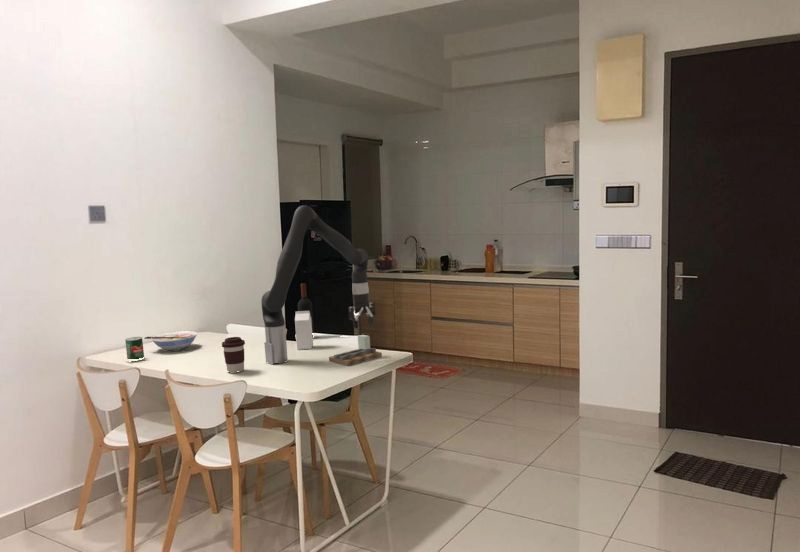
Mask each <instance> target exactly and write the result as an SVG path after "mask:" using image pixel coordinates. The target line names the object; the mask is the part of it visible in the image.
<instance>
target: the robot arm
mask: <svg viewBox="0 0 800 552" xmlns="http://www.w3.org/2000/svg"><path fill="white" fill-rule="evenodd" d="M308 230H310V231H311V232H314V233H315V234H317V235H318V236H319V237H321V238H322V239H323V240H324V241H325V242H326V243H327V244H329V246H331V247H332V248H333V249H334V250H336V251H337V252H338V253H340V254H341V255H342V257H343V258H344V259H345V260H346V261H347V262H348V263H349V264H351V265H353V270H352V272H351V280H352V281H351V282H352V283H351V284H352V285H351V286H352V288H351V290H352V303H353V304H354V305H353V306H348V309H347V310H348V320H349V321H352V325H353V326H352V327H353V328H354V329H355V330H357V329H359V322H358V319H359V318H360V316H361V315H365V314H366V316H367V324H368V326H372V325H373V319H374V318H373V317H374V316H375V315H377V312H376V303H375V302H370V293H369V292H370V290H369V284H368V274H367V273H368V272H367V271H368V266H369V265H368V264H369V258H368V257H369V256H368V253H367V251H366V250H365V249H363V248H355V247H354V246H353V245H352V243H351V241H350V240H349V238H348V239H347V237H345V236H344V235H343V234H341V232H339V231H337V230H335V229H334V228H333V227H331V226H329V225H328V224H327V223H325V222H324V221H323V220H322V219H321V217H319V215H318V214H317V213H316V211H315V210H314V209H313V208H312V207H310V206H309V205H305V204H302V205H300V206H298V207H297V208H296V210H295V211H294V214H293V217H292V221H291V225H290V229H289V231H288V233H287V237H286V239H285V242H284V245H283V247H282V250H281V252H280V255H279V258H278V260H277V264H276V270H275V278H274V282H273V284H272V286H271V288H270V290H268V291H266V292H265V293H263V295H262V296H261V311H262V319H263V322H264V323H263V324H264V333H265V341H264V344H263V345H264V355H265V357H264V358H265V363H266V362H268V363H267V364H270V363H272V364H271V365H275V364H274V363H279V364H282V363H281V362H284V363H286V362H285V361H287V360H288V357H289V356H288V347H287V346H288V345H287V336H286V335H287V334H286V333H287V332H286V323H285V322H286V320H285V317H284V314H283V308H284V306H285V304H286V300H287V295H288V292H289V288H290V286H291V282H292V281H293V278H294V276H295V273H296V271H297V268H298V266H299V263H300V261H301V257H302V253H303V247H304V246H303V245H304V238H305V235H306V233H307V231H308ZM287 362H288V361H287Z"/></svg>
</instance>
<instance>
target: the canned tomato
mask: <svg viewBox="0 0 800 552" xmlns="http://www.w3.org/2000/svg"><path fill="white" fill-rule="evenodd" d="M124 340H125V341H124V342H125V351H126V360H127V359H139V358H143V357H144V358H145V352H144V344H143V343H144V342H143V341H144V340H143V337H142V336H131V337H128V338H125V339H124Z"/></svg>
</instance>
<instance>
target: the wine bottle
mask: <svg viewBox="0 0 800 552" xmlns="http://www.w3.org/2000/svg"><path fill="white" fill-rule="evenodd" d="M300 293H301V299H300V300H299V301H298V302H297V311H310V315H311V322H312V333H314V334H315V331H314V329H315V328H314V318H313V317H314V316H313V304H312V301H311V300H310V299H309V298H308V297H307V296H308V295H307V283H300Z"/></svg>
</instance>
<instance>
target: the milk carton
mask: <svg viewBox="0 0 800 552" xmlns="http://www.w3.org/2000/svg"><path fill="white" fill-rule="evenodd" d="M294 324H295V325H294V326H295V327H294V328H295V341H296V349H297V351H300V350H311V349H312V348H313V347H314V338H313V335H312V322H311V315H310V311H298V310H297V311H295V316H294Z"/></svg>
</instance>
